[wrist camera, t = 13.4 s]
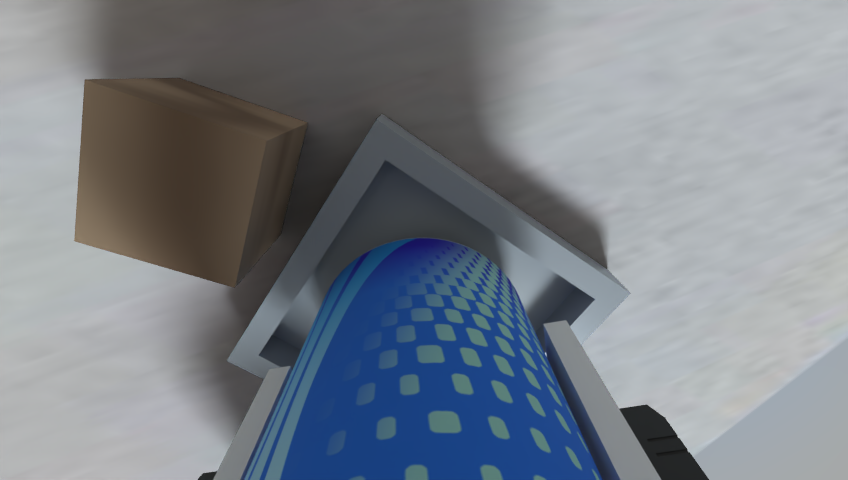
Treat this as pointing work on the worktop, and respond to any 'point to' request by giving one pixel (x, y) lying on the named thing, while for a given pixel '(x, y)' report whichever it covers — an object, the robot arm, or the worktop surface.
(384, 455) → the beer can
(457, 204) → the slate tray
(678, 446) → the robot arm
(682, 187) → the worktop surface
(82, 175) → the walnut block
